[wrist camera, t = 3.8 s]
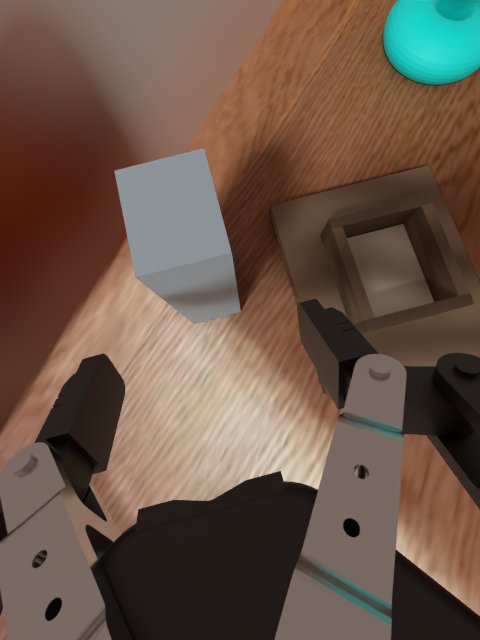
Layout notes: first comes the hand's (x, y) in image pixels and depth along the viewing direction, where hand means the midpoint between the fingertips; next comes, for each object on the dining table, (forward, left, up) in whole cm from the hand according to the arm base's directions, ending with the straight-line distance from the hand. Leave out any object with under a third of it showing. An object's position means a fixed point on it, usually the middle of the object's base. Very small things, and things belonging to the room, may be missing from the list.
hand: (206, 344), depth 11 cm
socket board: (-14, +2, -11) cm, 18 cm away
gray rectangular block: (-2, -5, -11) cm, 12 cm away
